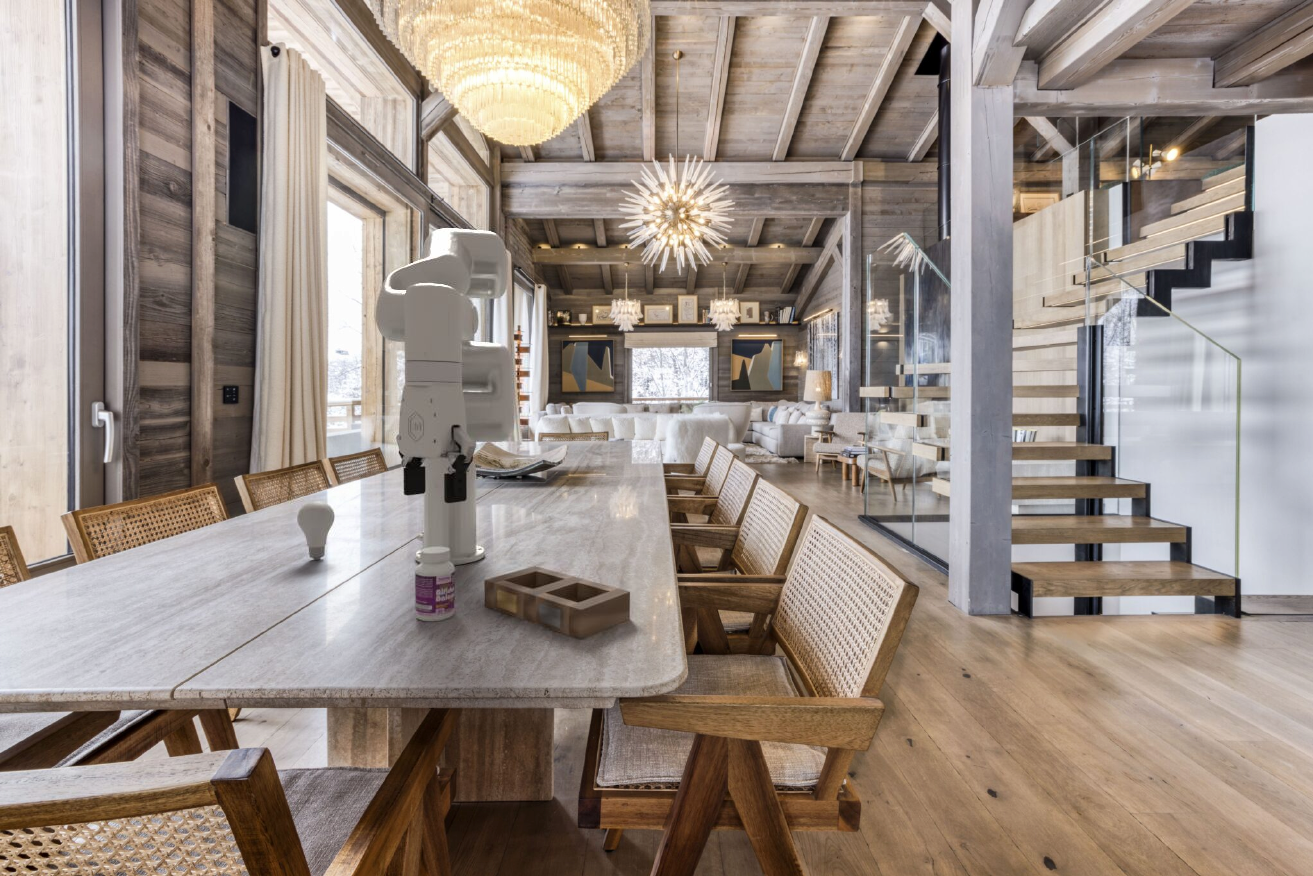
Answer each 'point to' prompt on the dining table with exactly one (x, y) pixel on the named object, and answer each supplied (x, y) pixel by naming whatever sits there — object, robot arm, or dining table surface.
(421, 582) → the pill bottle
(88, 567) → the dining table surface
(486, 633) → the dining table surface
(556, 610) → the socket block
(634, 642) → the dining table surface
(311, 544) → the lightbulb
